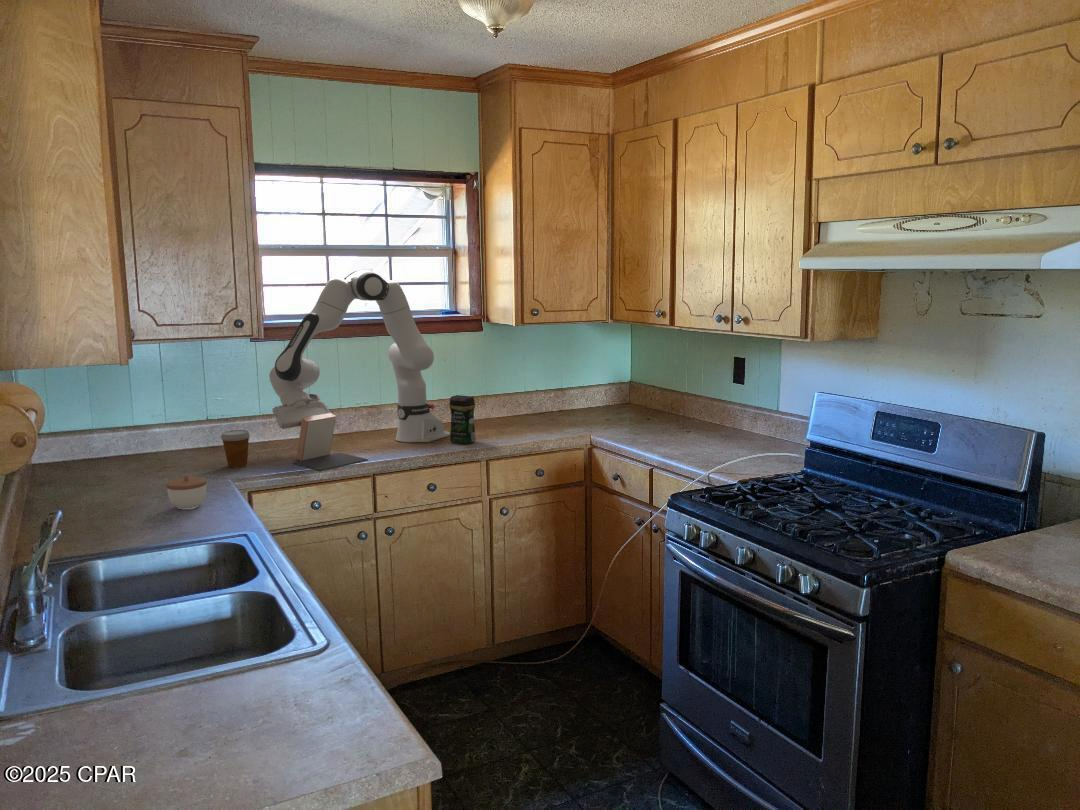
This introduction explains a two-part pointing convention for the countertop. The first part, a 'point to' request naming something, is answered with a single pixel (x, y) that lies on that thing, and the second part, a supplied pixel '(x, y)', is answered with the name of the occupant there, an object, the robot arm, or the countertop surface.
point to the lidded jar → (186, 491)
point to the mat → (329, 461)
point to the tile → (316, 436)
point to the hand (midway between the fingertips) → (312, 432)
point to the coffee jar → (462, 419)
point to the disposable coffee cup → (236, 447)
